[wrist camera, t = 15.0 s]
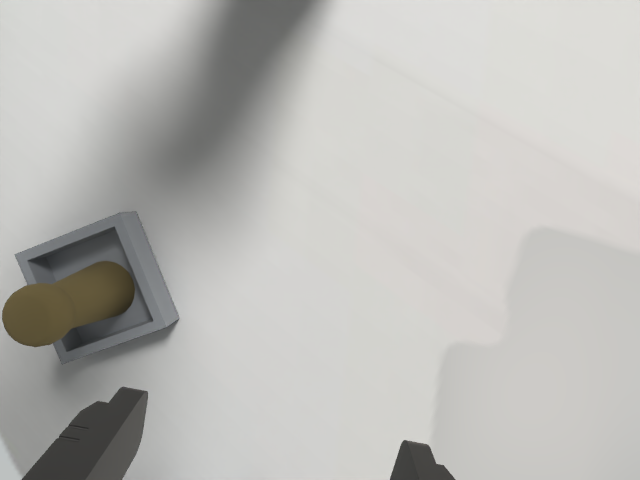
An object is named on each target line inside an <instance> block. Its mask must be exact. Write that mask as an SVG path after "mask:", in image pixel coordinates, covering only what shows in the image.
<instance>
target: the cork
mask: <svg viewBox="0 0 640 480" xmlns="http://www.w3.org/2000/svg"><path fill="white" fill-rule="evenodd" d="M134 295H135V287H134V282H133V279H132V278H131V276H130V274H129V272H128V271H127V270H126V269H125V268H124V267H122V266H121V265H119V264H117V263H115V262H111V261H100V262H96V263H94V264H92V265H90V266H88V267H86V268H84V269H82V270H80V271H78V272H76V273H74V274H71V275H69V276H67V277H65V278H63V279H61V280H59V281H57V282H55V283H53V284H48V283H37V284H31V285H27V286H24V287H23V288H21V289H19V290H18V291H16V292H14V293H13V294H12V295H11V296H10V298H9V299H8V300H7V302H6V303H5V306H4V309H3V313H2V320H3V324H4V327H5V329H6V331H7V332H8V334H9V335H10V336H11V337H12V338H13V339H14V340H15V341H17V342H19V343H21V344H23V345H27V346H33V347H39V346H45V345H50V344H52V343H54V342H56V341H58V340H59V339H61V338H63V337H64V336H65V335H66V334H67V333H68V332H69V331H70V329H72V328H75V327H79V326H82V325H86V324H90V323H93V322H97V321H100V320H104V319H108V318H111V317H115V316H118V315H120V314H122V313H124V312H126V310H127V309H128V308H129V307H130V306H131V304H132V302H133V299H134Z"/></svg>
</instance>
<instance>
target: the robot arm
mask: <svg viewBox="0 0 640 480" xmlns="http://www.w3.org/2000/svg"><path fill="white" fill-rule="evenodd" d="M147 400H148V392H147V391H143V390H137V389H132V388H127V387H121V388H120V389H119V390H118V392H117V393H116V394H115V395H114V397H113V398H112V399H111V401H110V402H109V403H106V402H100V401H97V402H95V403H94V404H92V405H90V406H89V407H87V408H85V409H83V410H82V411H80V412H79V414H78V415H77V416H76V417H75V418H74V419H73V421H72V422H71V423H70V424H69V426H68V427H67V428H66V429H65V430H64V431H63V432H62V433H61V434H60V436H59V438H58V439H56V440H55V441H54V443H53V444H52V445H51V446H50V447H49V448H48V450H47V451H46V452H45V453H44V454H43V455H42V457H41V458H40V459H39V460H38V461H37V462H36V463H35V465H34V466H33V467H32V468H31V469H30V470H29V472H28V473H27V474H26V475H25V476H24V477H23V479H22V480H122V478H123V477H124V475H125V473H126V471H127V469H128V468H129V466H130V464H131V462H132V461H133V459H134V457H135V455H136V453H137V451H138V448H139V445H140V442H141V438H142V434H143V427H144V420H145V413H146V407H147ZM390 480H455V479H454V477H453V476H452V475H451V474H450V473H449V471H448V470H447V469H446V468H445V467H444V465H438V464H436V462H435V459H434V457H433V454H432V452H431V449H430V447H429V445H427V444H422V443H417V442H412V441H406V440H404V441H403V442H402V444H401V446H400V450H399V453H398V456H397V459H396V462H395V465H394V468H393V471H392V475H391V478H390Z"/></svg>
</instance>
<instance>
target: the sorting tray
mask: <svg viewBox="0 0 640 480" xmlns="http://www.w3.org/2000/svg"><path fill="white" fill-rule="evenodd" d="M15 257H16V259H17V261H18V264H19V266H20V268H21V271H22V273H23V275H24V278H25V280H26V282H27V284H28V285H31V284H37V283H48V284H53V283H55V282H57V281H59V280H61V279H63V278H65V277H67V276H69V275H71V274H74V273H76V272H78V271H80V270H82V269H84V268H86V267H88V266H90V265H92V264H94V263H96V262H100V261H111V262H115V263H117V264H119V265H121V266H122V267H124V268H125V269H126V270H127V271H128V272H129V274H130V276H131V278H132V279H133V282H134V287H135V295H134V299H133V302H132V304H131V306H130V307H129V308H128V309H127V310H126V312H124V313H122V314H120V315H118V316H115V317H111V318H108V319H104V320H100V321H97V322H93V323H90V324H86V325H82V326H79V327H75V328H72V329H70V331H69V332H68V333H67V334H66V335H65V336H64V337H63V338H61V339H59V340H58V341H56V342H54V343H53V344H54V347H55V349H56V351H57V354H58V356H59V358H60V361H61V363H62V364H64V363H67V362H70V361H72V360H75V359H78V358H81V357H84V356H87V355H89V354H92V353H95V352H98V351H101V350H104V349H106V348H109V347H112V346H115V345H118V344H121V343H123V342H126V341H129V340H132V339H135V338H138V337H140V336H143V335H146V334H149V333H152V332H155V331H157V330H160V329H163V328H166V327H168V326H169V325H170V324H172V323H173V322H175V321H176V320H178V319H179V316H178V313H177V311H176V308H175V306H174V303H173V301H172V298H171V296H170V293H169V291H168V289H167V286H166V284H165V281H164V279H163V276H162V274H161V271H160V269H159V266H158V264H157V261H156V259H155V257H154V254H153V252H152V249H151V247H150V244H149V242H148V239H147V237H146V234H145V232H144V230H143V227H142V225H141V222H140V220H139V217H138V215H137V212H124V213H118V214H115V215H113V216H110V217H108V218H105V219H103V220H100V221H98V222H95V223H93V224H90V225H88V226H85V227H83V228H80V229H78V230H75V231H73V232H70V233H68V234H65V235H63V236H60V237H58V238H55V239H53V240H50V241H47V242H45V243H42V244H40V245H37V246H35V247H32V248H30V249H27V250H25V251H22V252H20V253H17V254H15Z"/></svg>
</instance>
